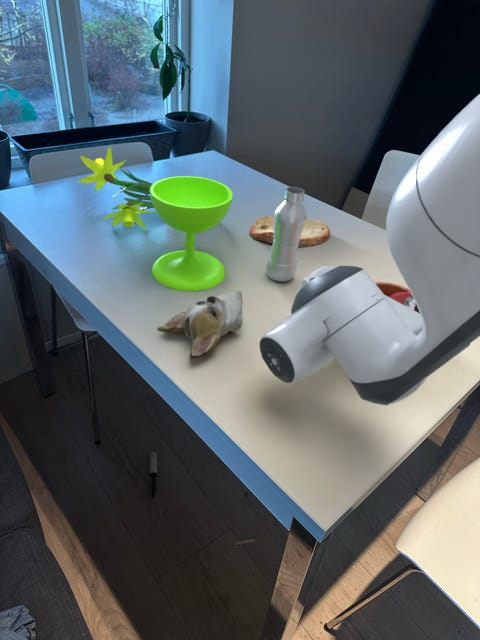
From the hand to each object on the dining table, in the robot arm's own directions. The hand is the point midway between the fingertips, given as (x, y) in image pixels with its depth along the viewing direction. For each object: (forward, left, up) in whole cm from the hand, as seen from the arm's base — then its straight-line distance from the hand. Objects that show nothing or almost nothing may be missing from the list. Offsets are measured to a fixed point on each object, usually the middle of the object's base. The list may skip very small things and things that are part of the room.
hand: (387, 289), depth 77 cm
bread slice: (+33, -27, -12) cm, 44 cm away
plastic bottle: (+24, -7, -12) cm, 28 cm away
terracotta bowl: (-1, -5, -12) cm, 12 cm away
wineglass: (+40, +5, -12) cm, 42 cm away
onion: (-1, -5, -10) cm, 11 cm away
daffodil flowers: (+63, -8, -12) cm, 65 cm away
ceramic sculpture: (+23, +20, -12) cm, 33 cm away
